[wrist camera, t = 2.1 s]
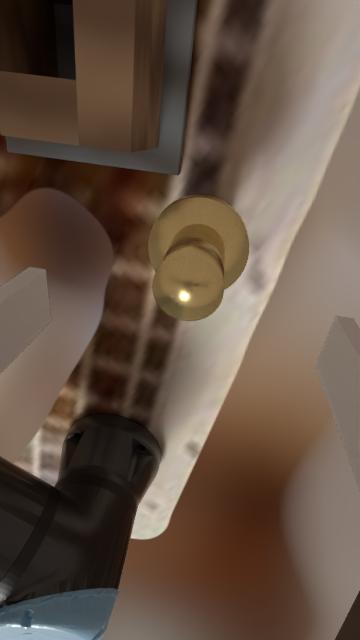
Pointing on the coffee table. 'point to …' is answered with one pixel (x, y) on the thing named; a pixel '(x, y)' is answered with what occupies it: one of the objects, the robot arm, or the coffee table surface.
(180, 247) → the brass pin
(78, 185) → the coffee table surface
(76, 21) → the walnut block
